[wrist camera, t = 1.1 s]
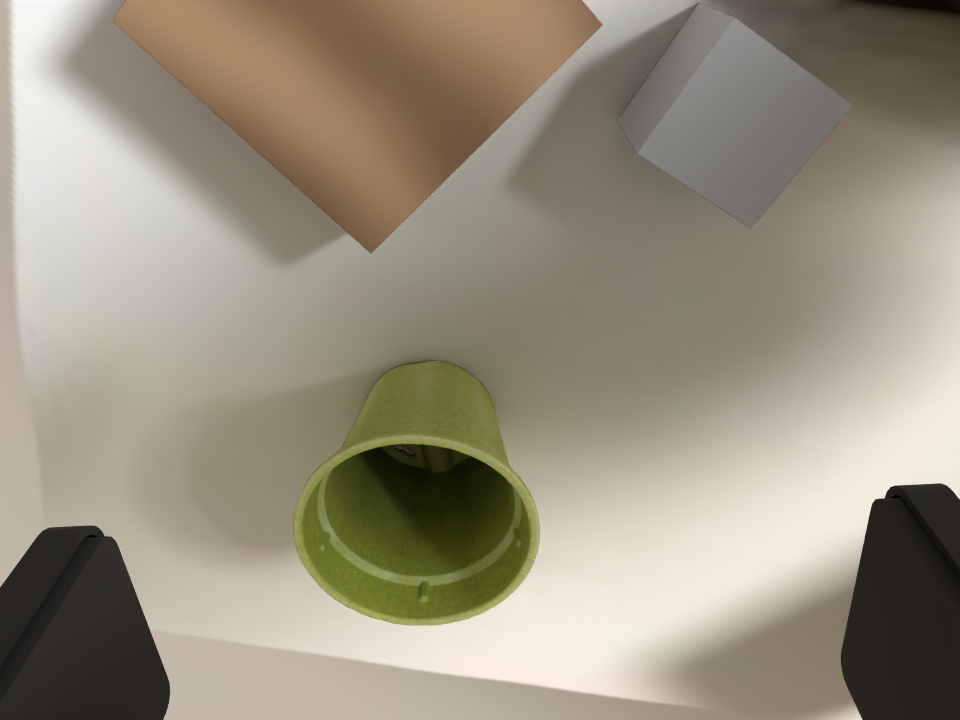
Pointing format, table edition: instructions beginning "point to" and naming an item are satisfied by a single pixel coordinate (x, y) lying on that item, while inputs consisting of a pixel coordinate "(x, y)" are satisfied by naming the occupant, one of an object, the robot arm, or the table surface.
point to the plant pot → (419, 504)
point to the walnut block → (362, 85)
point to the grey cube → (730, 114)
